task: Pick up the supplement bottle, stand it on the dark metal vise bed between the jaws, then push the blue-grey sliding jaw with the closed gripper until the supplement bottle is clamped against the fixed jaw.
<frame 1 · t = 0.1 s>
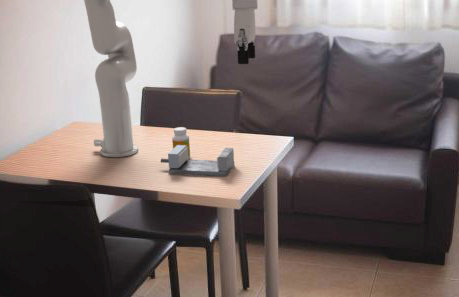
hand: (246, 60, 210), 31 cm above the table, tool pointing down, fingers open, 9 cm apart
jaw: (172, 156, 210), point 4 cm above the table, slide at 0.0 cm
supplement bottle: (181, 158, 222), on the table
vise bed: (202, 170, 209), on the table
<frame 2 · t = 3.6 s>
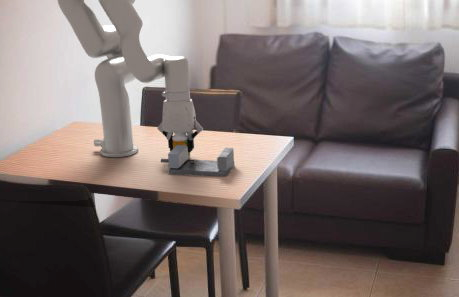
hand: (181, 150, 221), 3 cm above the table, tool pointing down, fingers closed on supplement bottle, 5 cm apart
supplement bottle: (182, 158, 222), on the table, touching gripper
everything else where it was.
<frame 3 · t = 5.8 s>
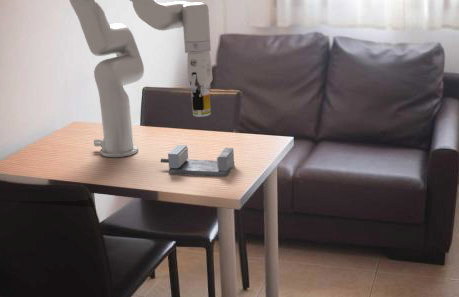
hand: (201, 106, 203), 20 cm above the table, tool pointing down, fingers closed on supplement bottle, 5 cm apart
supplement bottle: (201, 115, 204), point 17 cm above the table, touching gripper
everything else where it was.
when the fingers open (5 cm above the table, at t = 8.5 s): supplement bottle drops 1 cm, resting on vise bed.
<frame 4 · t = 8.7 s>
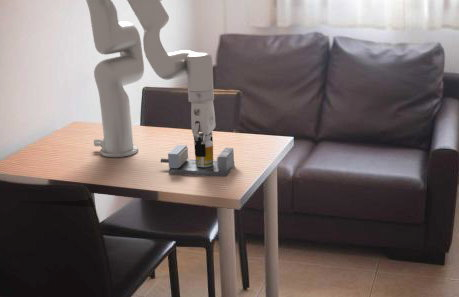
hand: (204, 152, 207), 6 cm above the table, tool pointing down, fingers open, 7 cm apart
supplement bottle: (204, 165, 208), point 1 cm above the table, touching vise bed
everything else where it was.
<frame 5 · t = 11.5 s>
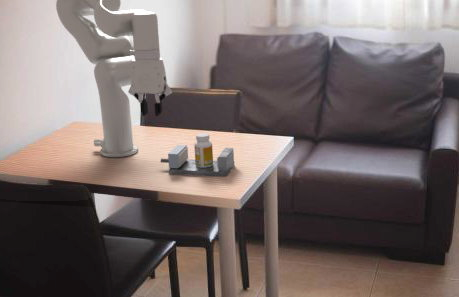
hand: (151, 114, 207), 17 cm above the table, tool pointing down, fingers open, 3 cm apart
nothing on the table moved.
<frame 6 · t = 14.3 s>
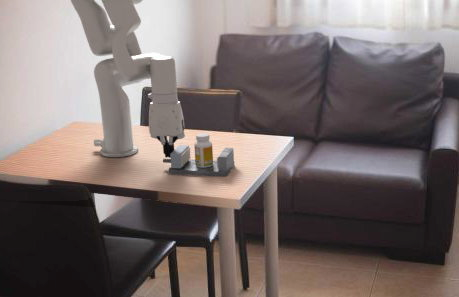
hand: (169, 156, 210), 4 cm above the table, tool pointing down, fingers closed
jaw: (174, 156, 210), point 4 cm above the table, slide at 0.7 cm, touching gripper
everything else where it was.
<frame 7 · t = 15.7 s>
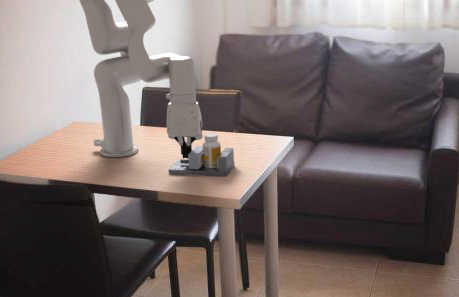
hand: (186, 156, 209), 4 cm above the table, tool pointing down, fingers closed
jaw: (192, 157, 208), point 4 cm above the table, slide at 6.3 cm, touching supplement bottle, gripper
supplement bottle: (212, 166, 208), point 1 cm above the table, touching jaw, vise bed
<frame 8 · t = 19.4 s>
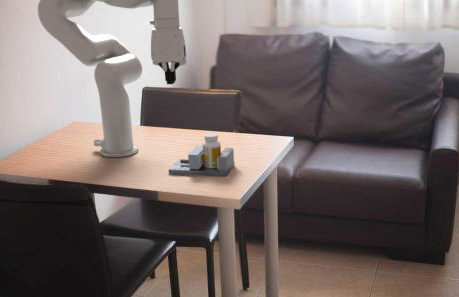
hand: (170, 83, 212), 25 cm above the table, tool pointing down, fingers closed
jaw: (192, 157, 208), point 4 cm above the table, slide at 6.3 cm, touching supplement bottle
everything else where it was.
at the end: jaw slide at 6.3 cm; supplement bottle inside the target area (0.4 cm from its centre), point 1.3 cm above the table; supplement bottle tilted 0° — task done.
